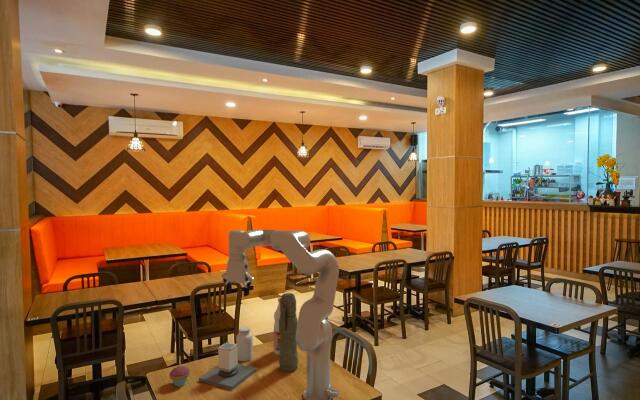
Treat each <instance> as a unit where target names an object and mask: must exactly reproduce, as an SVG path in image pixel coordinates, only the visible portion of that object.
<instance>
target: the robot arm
mask: <svg viewBox="0 0 640 400" xmlns="http://www.w3.org/2000/svg"><path fill="white" fill-rule="evenodd" d="M310 245H311V237H310V235H309V234H308V232H305V231H303V230H289V229H288V230H287V229H286V230H280V229H265V228H264V229H262V228H261V229H259V228H258V229H253V230H248V231H247V230H246V231H245V230H242V229H233V230H230V231H229V232H228V260H227V265H226V270H225V271H226V272H224V273H223V274H221V278H222V281H223V283H224V285H225V291H226V295H229V294H232V292H233V288H232V287H233V284H232V283H236V284H237V283H238V284H242V286H244V287H243V296H244V297H247V296H249V295H250V287H251V286H252V285H253V284H254V283H253V282H254V281H255V278H254V277H253V276H252V275H251V274H250V267H249V262H248V255H247V254H246V250H247V249H252V248H255V247H260V246H271V248H272V249H273V250H275V251H281V252H282V253H283V255H285V257H286V258H287V259H288V260H289V261H290V262H291V264H292V265H293V266H294V267H295V268H296V269H297V270H298V271H299V272H300V273H302V274H303V275H306V276H312V275H314V274H317V273H318V276H317V279H316V281H315V285H314V291H313V294H312V297H311V298H309V299H307V300H306V301H304V302H303V304H302V305H301V307H300V310H299V313H298V317H297V320H298V324H297V330H296V342H297V346H298V348H299V350H301V351H303V352H304V353H305V352H306V388H305V389H304V390H303V392H302V397H303V399H304V400H331V399H332V398H333V399H334V398H337V399H338V398H340V393H339V389H336V388H333V384H332V383H331V344H332V337H333V336H332V335H333V327H332V326H331V323H330V321H328V320H327V318H329V317H330V316H331V314H333V310H334V306H335V305H334V304H335V299H336V292H337V285H338V280H339V273H340V267H339V261H338V259H337V258H336V256H335V255H334V254H333V253H332V252H331V251H330V250H328V249H325V248H324V249H321V248H319V249H315V250H313V251H308V250H307V249H308V248H309V246H310ZM333 399H332V400H333Z"/></svg>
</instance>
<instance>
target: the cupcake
mask: <svg viewBox="0 0 640 400" xmlns="http://www.w3.org/2000/svg"><path fill="white" fill-rule="evenodd" d="M181 358H182V357H181V356H180V354H179V356H178V366H177V367H174V368H173V369H171V371H170V372H169V379H170V380H171V381H172V383H173V386H175V387H182V386H184V385H185V384H186V382H187V381H188V380H187V379H188V377H189V376H190V375H191V369H190V368H189V367H187V366H184V365H182V364H181Z"/></svg>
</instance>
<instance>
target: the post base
mask: <svg viewBox="0 0 640 400" xmlns="http://www.w3.org/2000/svg"><path fill="white" fill-rule="evenodd" d="M218 367H219V364H218V365H216V366H215V367H214V368H213V367H212V369H210V370H209V371H207V372H206V373H204V374H203V375H201V376H200V377H199V378H198V382H200V383H204V384H208V385H212V386H215V387H219V388H223V389H227V390H230V391H233V390H235V388H237V387H238V386H240V385H241V384H242V383H243V382H244V381H246V380H247V379H249V378H250V377H251V376H252V375H254V374H255V373H256V372H257V367H253V366H249V365H245V364H241V363H240V364H239V363H238V366H237V367H236V368H234V369H233V370H231V371H230V372H228V371H224V370H220V369H218Z"/></svg>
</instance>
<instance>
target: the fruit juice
mask: <svg viewBox="0 0 640 400" xmlns="http://www.w3.org/2000/svg"><path fill="white" fill-rule="evenodd" d="M280 299H281V297H279V298H278V299H277V301H278V302H277V308H276V310H275V312H274V314H273V318H274V319H273V320H274V323H273V353H274V354H275V355H276V356H279V354H280V333H279V318H280V314H281V312H280Z"/></svg>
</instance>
